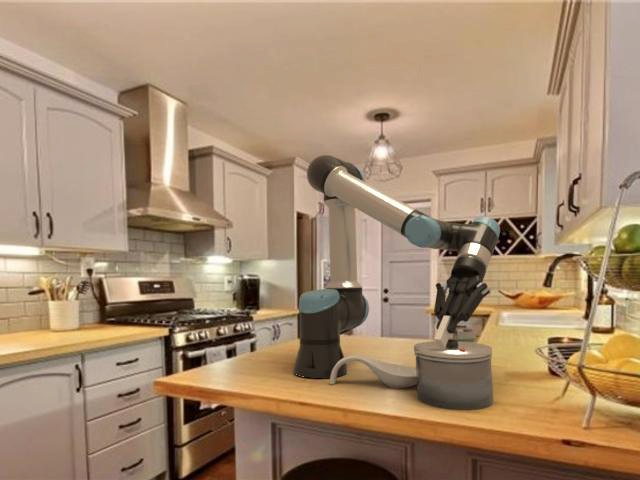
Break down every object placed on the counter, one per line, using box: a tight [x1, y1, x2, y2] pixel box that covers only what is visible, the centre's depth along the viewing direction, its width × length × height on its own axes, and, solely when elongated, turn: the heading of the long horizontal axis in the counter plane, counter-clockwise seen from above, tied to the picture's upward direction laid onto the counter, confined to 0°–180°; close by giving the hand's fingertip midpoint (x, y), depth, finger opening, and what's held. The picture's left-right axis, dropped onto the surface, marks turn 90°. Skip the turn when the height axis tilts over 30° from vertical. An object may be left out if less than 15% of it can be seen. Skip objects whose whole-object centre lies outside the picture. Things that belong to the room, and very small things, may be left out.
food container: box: [452, 327, 477, 343], centre depth 127 cm, size 12×6×10 cm, turn 168°
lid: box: [413, 338, 493, 359], centre depth 92 cm, size 17×17×3 cm
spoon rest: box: [329, 354, 417, 389], centre depth 104 cm, size 24×12×7 cm, turn 81°
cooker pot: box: [414, 352, 494, 411], centre depth 92 cm, size 18×16×10 cm
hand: (439, 343), depth 88 cm, fingers closed
